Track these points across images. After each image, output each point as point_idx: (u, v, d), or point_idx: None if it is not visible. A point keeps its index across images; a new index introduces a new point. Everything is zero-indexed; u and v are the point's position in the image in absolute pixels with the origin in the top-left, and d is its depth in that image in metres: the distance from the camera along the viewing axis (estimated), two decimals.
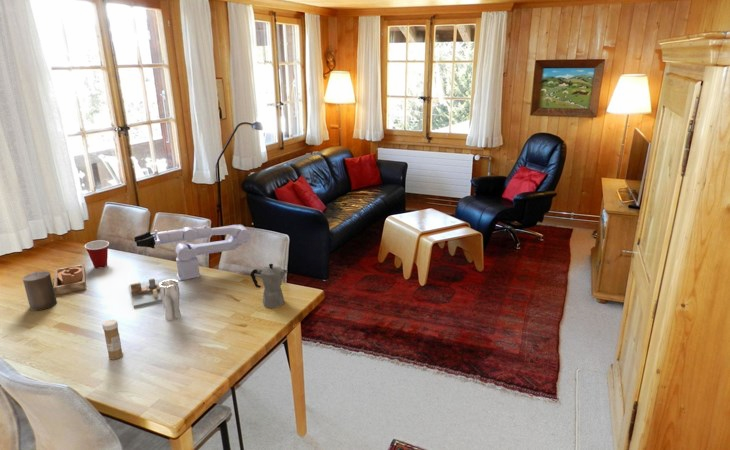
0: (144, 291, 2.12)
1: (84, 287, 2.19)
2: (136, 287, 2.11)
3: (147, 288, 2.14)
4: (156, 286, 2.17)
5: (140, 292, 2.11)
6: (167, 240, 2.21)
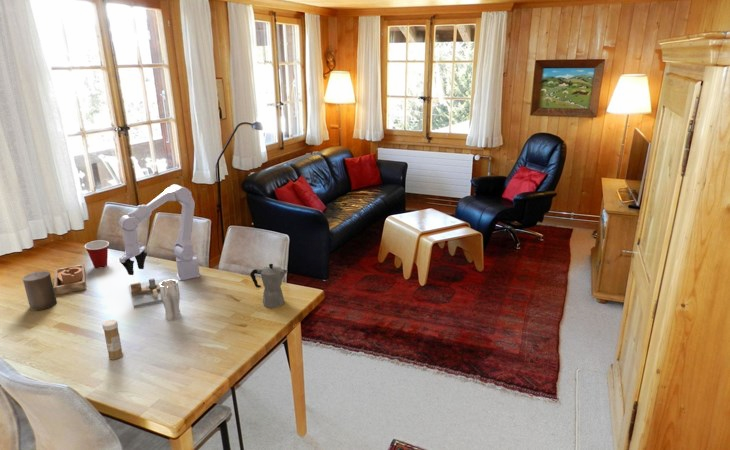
0: (144, 291, 2.12)
1: (84, 287, 2.19)
2: (136, 287, 2.11)
3: (147, 288, 2.14)
4: (156, 286, 2.17)
5: (140, 292, 2.11)
6: (128, 246, 2.08)
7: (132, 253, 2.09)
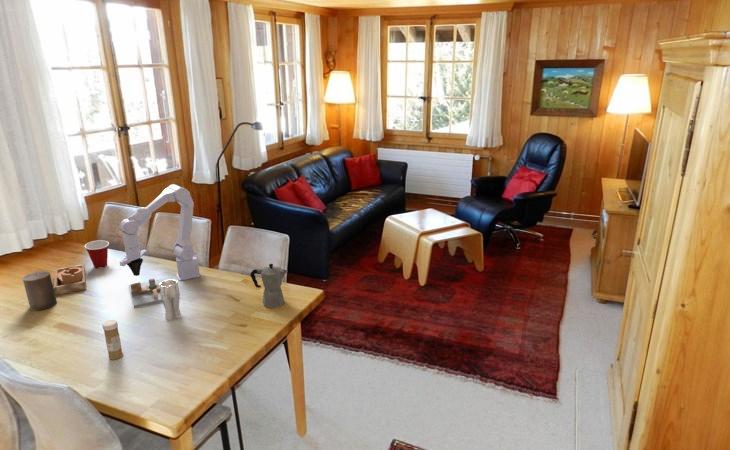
0: (144, 291, 2.12)
1: (84, 287, 2.19)
2: (136, 287, 2.11)
3: (147, 288, 2.14)
4: (156, 286, 2.17)
5: (140, 292, 2.11)
6: (129, 250, 2.08)
7: (133, 257, 2.10)
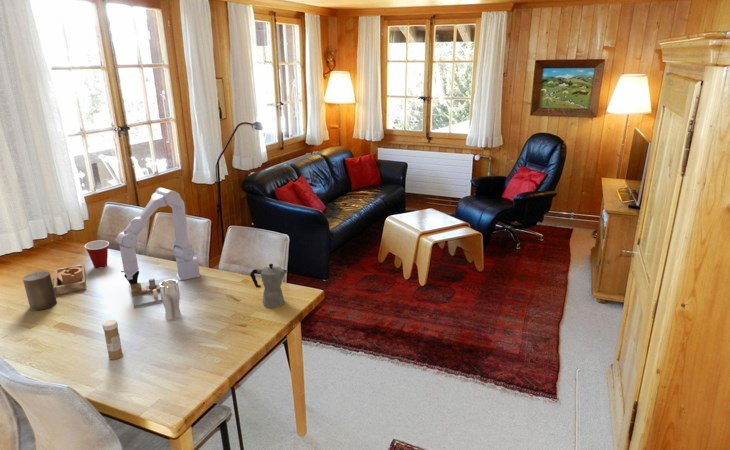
0: (144, 291, 2.12)
1: (84, 287, 2.19)
2: (136, 287, 2.11)
3: (147, 288, 2.14)
4: (156, 286, 2.17)
5: (140, 292, 2.11)
6: (131, 263, 2.06)
7: (134, 269, 2.08)
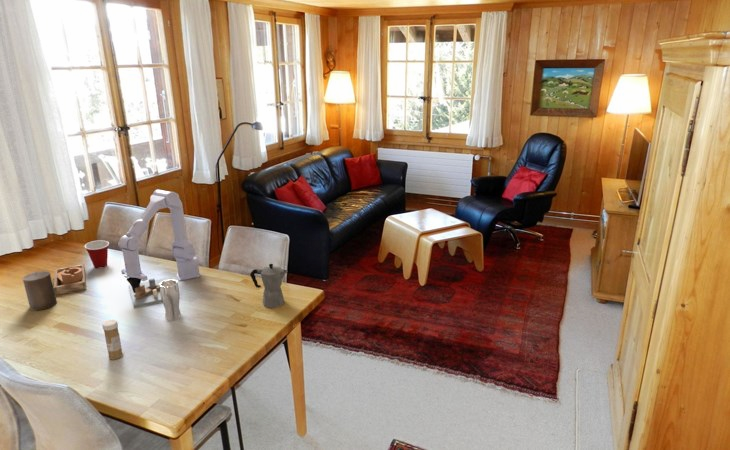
0: (149, 292, 2.11)
1: (84, 287, 2.19)
2: (141, 289, 2.09)
3: (149, 289, 2.13)
4: None
5: (146, 294, 2.10)
6: (138, 265, 2.04)
7: (140, 271, 2.06)
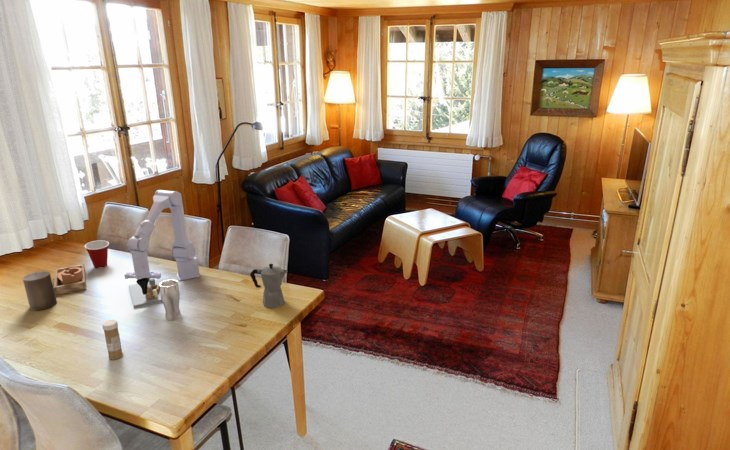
0: None
1: (84, 287, 2.19)
2: (151, 290, 2.09)
3: (152, 289, 2.13)
4: None
5: None
6: (148, 265, 2.04)
7: None
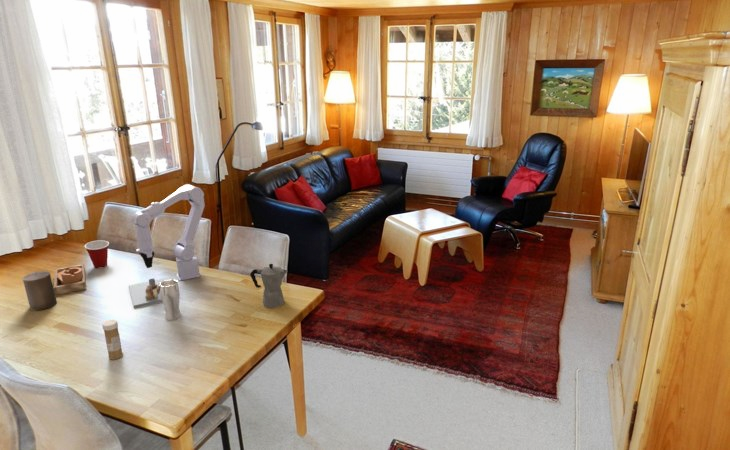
0: None
1: (84, 287, 2.19)
2: (151, 290, 2.09)
3: (152, 289, 2.13)
4: None
5: None
6: (147, 241, 2.12)
7: (151, 247, 2.14)
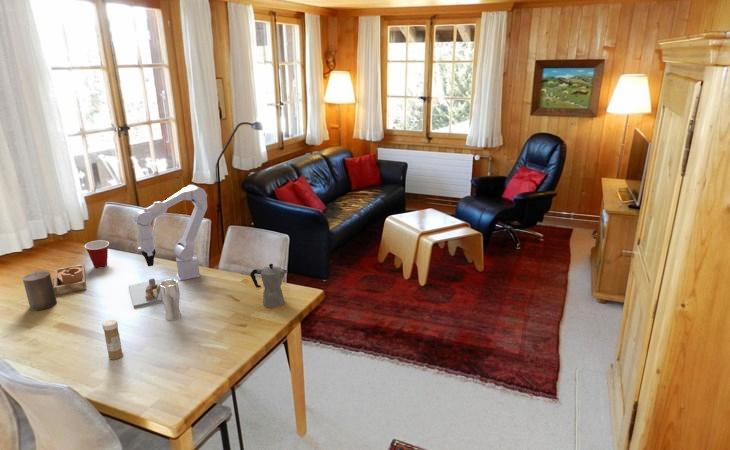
0: None
1: (84, 287, 2.19)
2: (151, 290, 2.09)
3: (152, 289, 2.13)
4: None
5: None
6: (149, 240, 2.14)
7: (152, 246, 2.16)
